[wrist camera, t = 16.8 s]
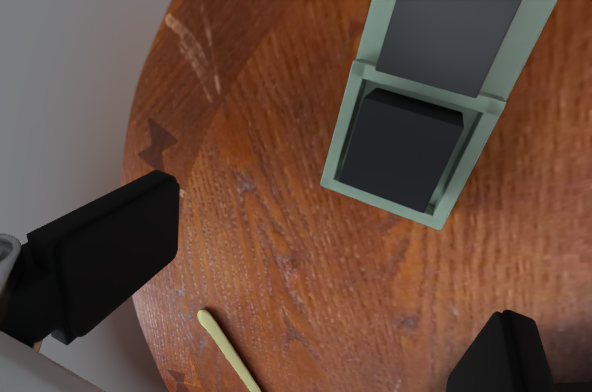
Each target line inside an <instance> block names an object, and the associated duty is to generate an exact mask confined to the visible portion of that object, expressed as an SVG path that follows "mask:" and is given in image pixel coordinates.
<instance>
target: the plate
mask: <svg viewBox="0 0 592 392" xmlns="http://www.w3.org/2000/svg"><path fill="white" fill-rule="evenodd" d="M554 385H555V388H556V390H557V391H558V392H592V382H587V383H561V384H554Z"/></svg>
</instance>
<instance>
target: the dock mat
mask: <svg viewBox="0 0 592 392" xmlns="http://www.w3.org/2000/svg"><path fill="white" fill-rule="evenodd" d="M556 2H557V0H372V1H371V5H370V9H369V12H368V16H367V20H366V23H365V27H364V31H363V34H362V38H361V42H360V45H359V49H358V53H357V56H356V60H354V61H353V63H352V67H351V71H350V75H349V78H348V82H347V86H346V89H345V93H344V97H343V101H342V104H341V108H340V112H339V115H338V119H337V123H336V126H335V130H334V134H333V138H332V141H331V145H330V149H329V152H328V156H327V160H326V164H325V167H324V171H323V175H322V178H321V182H320V186H323V187H325V188H328V189H331V190H333V191H336V192H339V193H341V194H344V195H347V196H349V197H352V198H354V199H357V200H360V201H362V202H365V203H368V204H370V205H373V206H376V207H378V208H381V209H384V210H386V211H389V212H392V213H394V214H397V215H400V216H402V217H405V218H408V219H410V220H413V221H416V222H418V223H421V224H423V225H426V226H429V227H431V228H434V229H437V230H439V231H441V230H442V228H443V226H444V224H445V222H446V220H447V218H448V216H449V214H450V212H451V210H452V208H453V206H454V204H455V202H456V200H457V199H458V197H459V195H460V193H461V191H462V189H463V187H464V185H465V183H466V181H467V179H468V177H469V175H470V173H471V171H472V169H473V167H474V165H475V163H476V162H477V160H478V158H479V156H480V154H481V152H482V150H483V148H484V146H485V144H486V142H487V140H488V138H489V136H490V134H491V132H492V130H493V128H494V126H495V125H496V123H497V121H498V119H499V117H500V115H501V113H502V111H503V109H504V107H505V105H506V100H507V98H508V96H509V94H510V92H511V90H512V88H513V86H514V84H515V82H516V80H517V79H518V77H519V75H520V73H521V71H522V69H523V67H524V65H525V63H526V61H527V59H528V57H529V55H530V53H531V51H532V49H533V47H534V45H535V43H536V41H537V39H538V37H539V35H540V34H541V32H542V30H543V28H544V26H545V24H546V22H547V20H548V18H549V16H550V14H551V12H552V10H553V8H554V6H555V4H556ZM375 88H381V89H384V90H388V91H391V92H395V93H398V94H401V95H405V96H408V97H412V98H415V99H419V100H422V101H425V102H429V103H432V104H436V105H439V106H443V107H446V108H449V109H453V110H456V111H460V112H462V113H463V123H464V129H463V131H462V133H461V136H460V138H459V140H458V142H457V144H456V146H455V148H454V150H453V153H452V155H451V157H450V159H449V161H448V163H447V165H446V168H445V170H444V172H443V174H442V176H441V178H440V180H439V182H438V185H437V187H436V189H435V191H434V193H433V195H432V197H431V199H430V202H429V204H428V206H427V208H426V210H425V212H424V213H421V212H418V211H416V210H413V209H410V208H407V207H405V206H402V205H399V204H397V203H394V202H391V201H389V200H386V199H383V198H381V197H378V196H375V195H372V194H370V193H367V192H364V191H362V190H359V189H356V188H354V187H351V186H348V185H345V184H343V183H340V182H339V178H340V174H341V171H342V168H343V164H344V161H345V158H346V155H347V151H348V148H349V145H350V141H351V138H352V135H353V131H354V128H355V125H356V121H357V118H358V115H359V111H360V108H361V105H362V101H363V98H364V97H365V96H366V95H368V94H369V93H370V92H371V91H373V90H374V89H375Z"/></svg>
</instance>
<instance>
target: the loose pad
mask: <svg viewBox="0 0 592 392" xmlns="http://www.w3.org/2000/svg"><path fill="white" fill-rule="evenodd" d="M463 129H464V123H463V113H462V112H460V111H456V110H453V109H449V108H446V107H443V106H439V105H436V104H432V103H429V102H425V101H422V100H419V99H415V98H412V97H408V96H405V95H401V94H398V93H395V92H391V91H388V90H384V89H381V88H375V89H374V90H373V91H371V92H370V93H369V94H368V95H366V96H365V97H364V98H363V101H362V105H361V108H360V111H359V115H358V118H357V121H356V125H355V128H354V131H353V135H352V138H351V141H350V145H349V148H348V151H347V155H346V158H345V161H344V164H343V168H342V171H341V174H340V178H339V182H340V183H343V184H345V185H348V186H351V187H354V188H356V189H359V190H362V191H364V192H367V193H370V194H372V195H375V196H378V197H381V198H383V199H386V200H389V201H391V202H394V203H397V204H399V205H402V206H405V207H407V208H410V209H413V210H416V211H418V212H421V213H424V212H425V210H426V208H427V206H428V204H429V202H430V199H431V197H432V195H433V193H434V191H435V189H436V187H437V185H438V182H439V180H440V178H441V176H442V174H443V172H444V170H445V168H446V165H447V163H448V161H449V159H450V157H451V155H452V153H453V150H454V148H455V146H456V144H457V142H458V140H459V138H460V136H461V133H462V131H463Z"/></svg>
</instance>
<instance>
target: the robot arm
mask: <svg viewBox="0 0 592 392" xmlns="http://www.w3.org/2000/svg"><path fill="white" fill-rule="evenodd" d="M179 192H180V187H179V184H178V183H177V181H176V178H175V177H174V176H172V175H169V174H167V173H164V172H162V171H159V170H155V171H152V172H150V173H148V174H146V175H144V176H142V177H140V178H138V179H136V180H134V181H132V182H130V183H128V184H126V185H124V186H122V187H120V188H118V189H116V190H114V191H112V192H110V193H108V194H106V195H104V196H102V197H100V198H98V199H96V200H94V201H92V202H90V203H88V204H86V205H84V206H82V207H80V208H78V209H76V210H74V211H72V212H70V213H68V214H66V215H64V216H62V217H60V218H58V219H56V220H54V221H52V222H50V223H48V224H46V225H44V226H42V227H40V228H38V229H36V230H34V231H32V232H30V233H28V234H27V239H28V242H27V243H25V244H23V245H21V243H20V242H19V240H18V239H17V238H15V237H14V236H10V235H7V234H0V392H105V391H104V390H102V389H100V388H98V387H97V386H95V385H93V384H92V383H90V382H88V381H86V380H85V379H83V378H81V377H79V376H78V375H76V374H75V373H73V372H71V371H70V370H68V369H66V368H64V367H63V366H61V365H60V364H58V363H56V362H54V361H52V360H51V359H49V358H47V357H46V356H44V355H43V354H41V353H39V350H40V347H41V344H42V341H43V339H44V338H45V337H46V336H48V335H49V334H50V333H51V335H52V337H53V338H55V339H57V340H59V341H61V342H62V343H64V344H65V345H68V344H70V343H71V342H72V341H73V340H74V339H76V338H77V337H82V336H84V335H86V334H87V333H88V332H90V331H91V330H92V329H93V328H94V327H95V326H97V325H98V324H99V323H100V322H101V321H102V320H104V319H105V318H106V317H107V316H108V315H109V314H111V313H112V312H113V311H114V310H115V309H116V308H118V307H119V306H120V305H121V304H122V303H123V302H125V301H126V300H127V299H128V298H129V297H130V296H132V295H133V294H134V293H135V292H136V291H137V290H139V289H140V288H141V287H142V286H143V285H144V284H145V283H147V282H148V281H149V280H150V279H151V278H152V277H154V276H155V275H156V274H157V273H158V272H159V271H161V270H162V269H163V268H164V267H165V266H166V265H168V264H169V263H170V262H171V261H172V260H173V259H174V258H175V256H176V254H177V251H178V224H179ZM446 392H558V391H557V390H556V388H555V385H554V382H553V378H552V375H551V372H550V368H549V365H548V362H547V358H546V355H545V352H544V349H543V345H542V342H541V339H540V335H539V332H538V329H537V326H536V323H535V321H534V320H533V319H531V318H529V317H526V316H524V315H521V314H519V313H516V312H514V311H511V310H505V311H503V312H502V313H500V312H495V313H494V314H493V315H492V316H491V318H490V319H489V320H488V322H487V323H486V325H485V326H484V327H483V329H482V330H481V332H480V333H479V334H478V336H477V337H476V339H475V340H474V341H473V343H472V344H471V346H470V347H469V348H468V350H467V351H466V353H465V354H464V355H463V357H462V358H461V360H460V361H459V362H458V364H457V365H456V367H455V368H454V369H453V371H452V372H451V374H450V375H449V378H448V381H447V387H446Z"/></svg>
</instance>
